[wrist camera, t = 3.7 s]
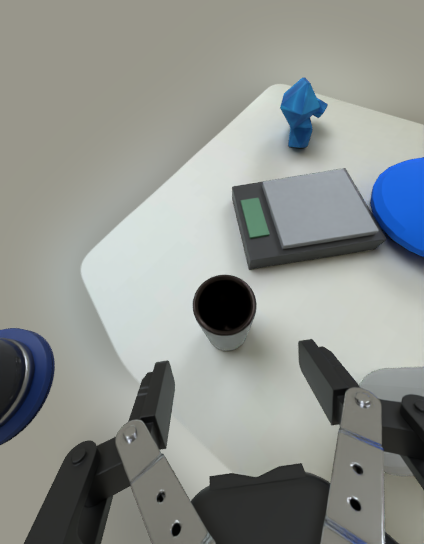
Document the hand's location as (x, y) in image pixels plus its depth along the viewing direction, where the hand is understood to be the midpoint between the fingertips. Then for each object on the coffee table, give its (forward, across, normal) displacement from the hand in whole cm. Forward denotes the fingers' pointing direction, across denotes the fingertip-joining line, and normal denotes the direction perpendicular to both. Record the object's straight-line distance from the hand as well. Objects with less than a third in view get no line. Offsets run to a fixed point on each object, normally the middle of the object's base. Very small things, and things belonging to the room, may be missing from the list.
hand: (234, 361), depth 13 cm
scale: (+20, -12, -4) cm, 23 cm away
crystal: (+32, -17, -16) cm, 40 cm away
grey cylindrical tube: (+10, 0, +5) cm, 12 cm away
